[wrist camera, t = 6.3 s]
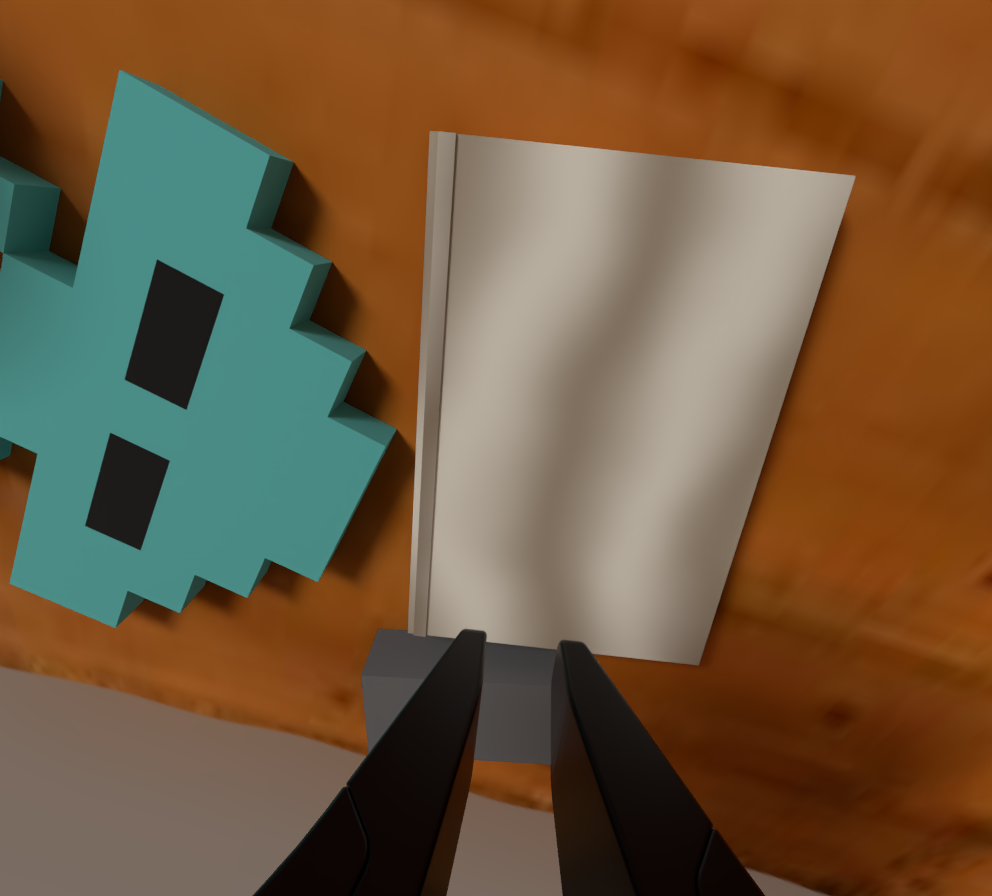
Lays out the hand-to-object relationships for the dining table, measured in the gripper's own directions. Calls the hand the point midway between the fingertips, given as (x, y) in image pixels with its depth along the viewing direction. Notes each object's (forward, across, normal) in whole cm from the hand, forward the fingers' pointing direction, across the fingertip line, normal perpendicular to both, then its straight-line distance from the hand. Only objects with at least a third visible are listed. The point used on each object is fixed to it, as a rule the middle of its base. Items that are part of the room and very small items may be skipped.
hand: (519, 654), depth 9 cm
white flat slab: (+12, -2, 0) cm, 12 cm away
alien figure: (+13, +15, 0) cm, 20 cm away
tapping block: (+12, +1, +13) cm, 18 cm away
